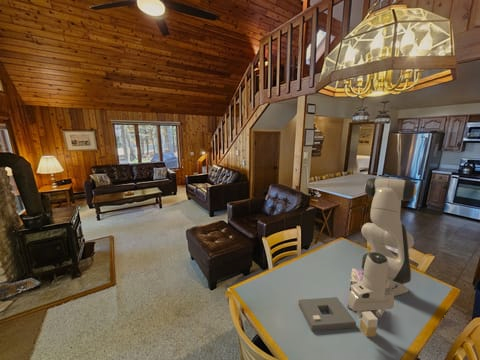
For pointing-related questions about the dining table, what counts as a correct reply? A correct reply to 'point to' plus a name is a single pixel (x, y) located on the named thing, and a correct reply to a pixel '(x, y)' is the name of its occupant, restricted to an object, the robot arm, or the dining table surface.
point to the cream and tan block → (368, 324)
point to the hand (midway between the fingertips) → (369, 316)
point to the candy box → (355, 278)
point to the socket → (324, 322)
